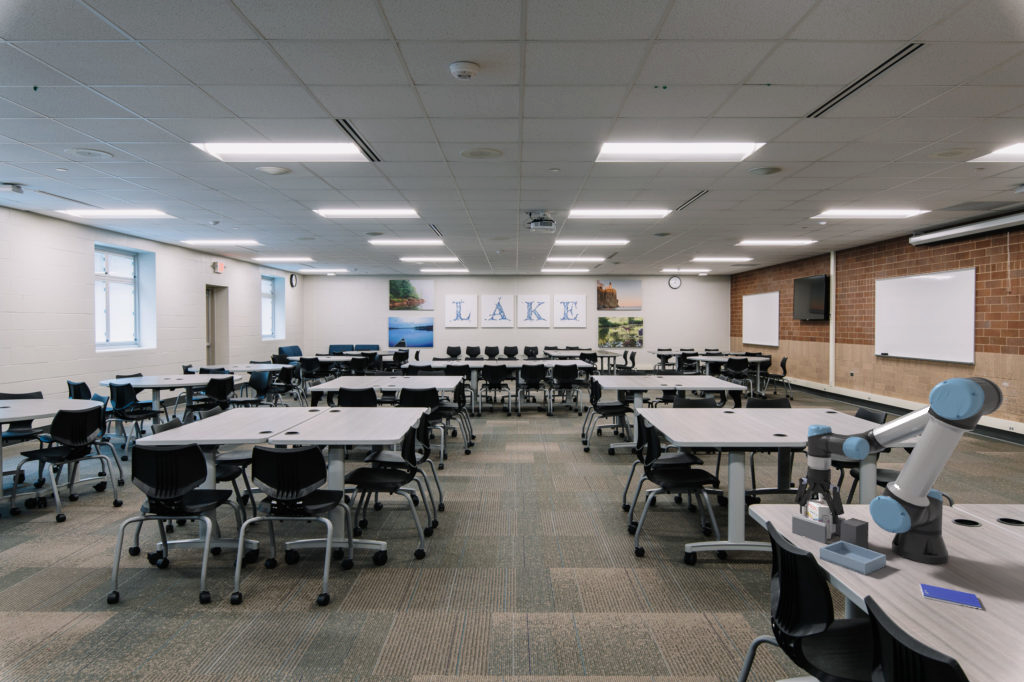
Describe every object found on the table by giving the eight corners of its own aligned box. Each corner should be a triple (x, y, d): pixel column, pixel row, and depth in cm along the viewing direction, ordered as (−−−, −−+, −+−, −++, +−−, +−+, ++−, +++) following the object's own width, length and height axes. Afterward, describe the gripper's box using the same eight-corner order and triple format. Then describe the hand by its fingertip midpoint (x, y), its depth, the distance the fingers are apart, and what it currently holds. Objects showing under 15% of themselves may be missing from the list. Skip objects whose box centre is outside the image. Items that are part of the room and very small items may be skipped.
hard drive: (923, 594, 149) (981, 606, 142) (919, 582, 156) (974, 593, 149) (923, 599, 149) (981, 612, 142) (919, 587, 156) (974, 599, 149)
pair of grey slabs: (845, 536, 193) (845, 518, 193) (824, 543, 186) (824, 524, 186) (812, 526, 203) (812, 508, 203) (791, 532, 197) (792, 514, 197)
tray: (886, 566, 169) (886, 555, 169) (864, 575, 162) (865, 563, 162) (841, 550, 181) (841, 540, 181) (819, 558, 174) (819, 548, 174)
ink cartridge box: (805, 530, 199) (805, 491, 199) (818, 530, 199) (819, 491, 199) (817, 539, 191) (818, 498, 190) (831, 539, 191) (832, 498, 190)
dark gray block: (868, 548, 183) (868, 522, 183) (855, 552, 179) (856, 526, 179) (852, 543, 187) (853, 517, 187) (840, 547, 183) (840, 521, 183)
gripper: (856, 472, 187) (855, 535, 187) (796, 459, 206) (795, 516, 206) (844, 475, 183) (844, 539, 183) (784, 462, 202) (783, 520, 202)
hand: (818, 527), depth 195 cm, fingers closed on ink cartridge box, 9 cm apart
